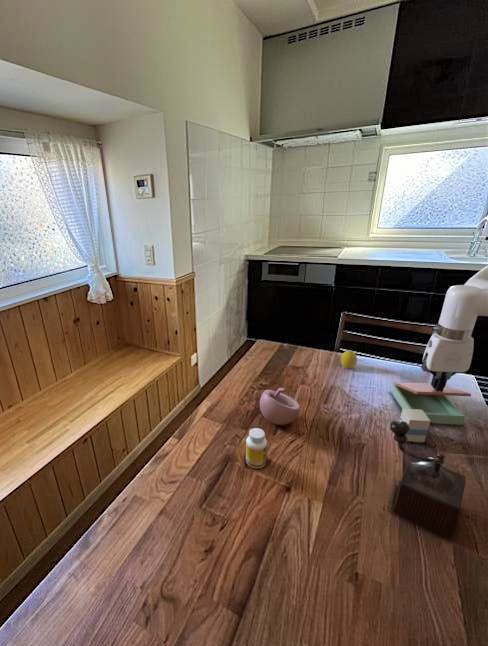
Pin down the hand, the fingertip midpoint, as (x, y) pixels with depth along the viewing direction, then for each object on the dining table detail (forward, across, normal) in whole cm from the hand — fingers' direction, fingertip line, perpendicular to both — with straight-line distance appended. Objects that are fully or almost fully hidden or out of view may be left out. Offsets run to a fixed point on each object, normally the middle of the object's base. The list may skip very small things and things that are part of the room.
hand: (436, 388), depth 98 cm
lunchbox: (+10, 0, +4) cm, 11 cm away
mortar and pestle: (+11, -45, -6) cm, 46 cm away
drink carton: (+10, -9, -10) cm, 17 cm away
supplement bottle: (+11, -52, -24) cm, 58 cm away
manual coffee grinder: (+11, -17, -32) cm, 38 cm away
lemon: (+11, -17, +28) cm, 34 cm away
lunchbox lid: (+3, 0, +4) cm, 5 cm away
